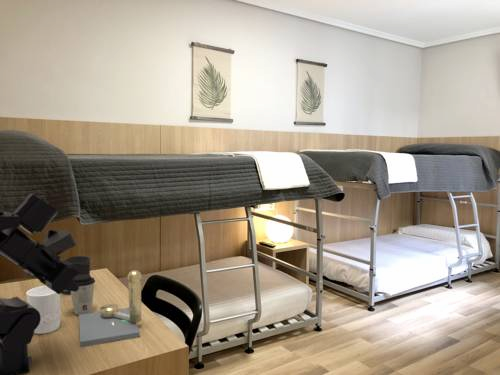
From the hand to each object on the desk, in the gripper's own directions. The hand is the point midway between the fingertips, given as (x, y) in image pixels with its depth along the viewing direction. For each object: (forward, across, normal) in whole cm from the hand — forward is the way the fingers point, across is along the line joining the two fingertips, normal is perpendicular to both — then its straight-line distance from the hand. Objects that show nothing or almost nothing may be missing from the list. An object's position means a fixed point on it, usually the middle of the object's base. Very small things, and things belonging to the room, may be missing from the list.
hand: (77, 289), depth 97 cm
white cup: (+8, +15, +11) cm, 21 cm away
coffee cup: (+16, +19, +3) cm, 26 cm away
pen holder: (+21, +39, -1) cm, 44 cm away
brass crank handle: (+18, +5, -1) cm, 19 cm away
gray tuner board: (+16, +5, +3) cm, 17 cm away
